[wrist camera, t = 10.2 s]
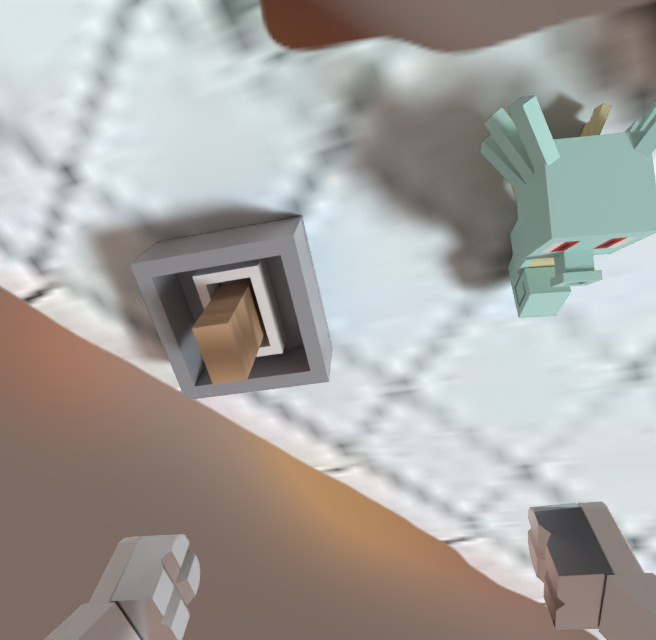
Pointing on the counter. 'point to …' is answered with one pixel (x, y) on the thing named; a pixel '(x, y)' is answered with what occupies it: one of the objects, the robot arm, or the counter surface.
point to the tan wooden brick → (230, 332)
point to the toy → (570, 198)
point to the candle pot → (271, 293)
